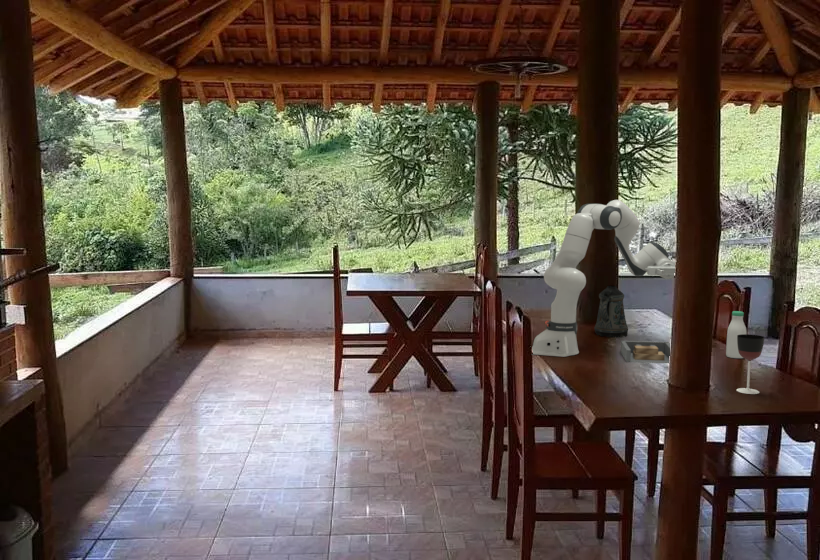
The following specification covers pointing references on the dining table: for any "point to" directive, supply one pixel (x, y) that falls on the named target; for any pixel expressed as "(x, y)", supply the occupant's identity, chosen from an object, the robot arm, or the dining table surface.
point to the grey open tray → (628, 346)
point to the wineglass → (749, 354)
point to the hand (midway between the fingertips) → (673, 272)
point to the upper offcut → (645, 349)
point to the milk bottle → (735, 334)
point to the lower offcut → (649, 356)
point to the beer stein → (611, 314)
